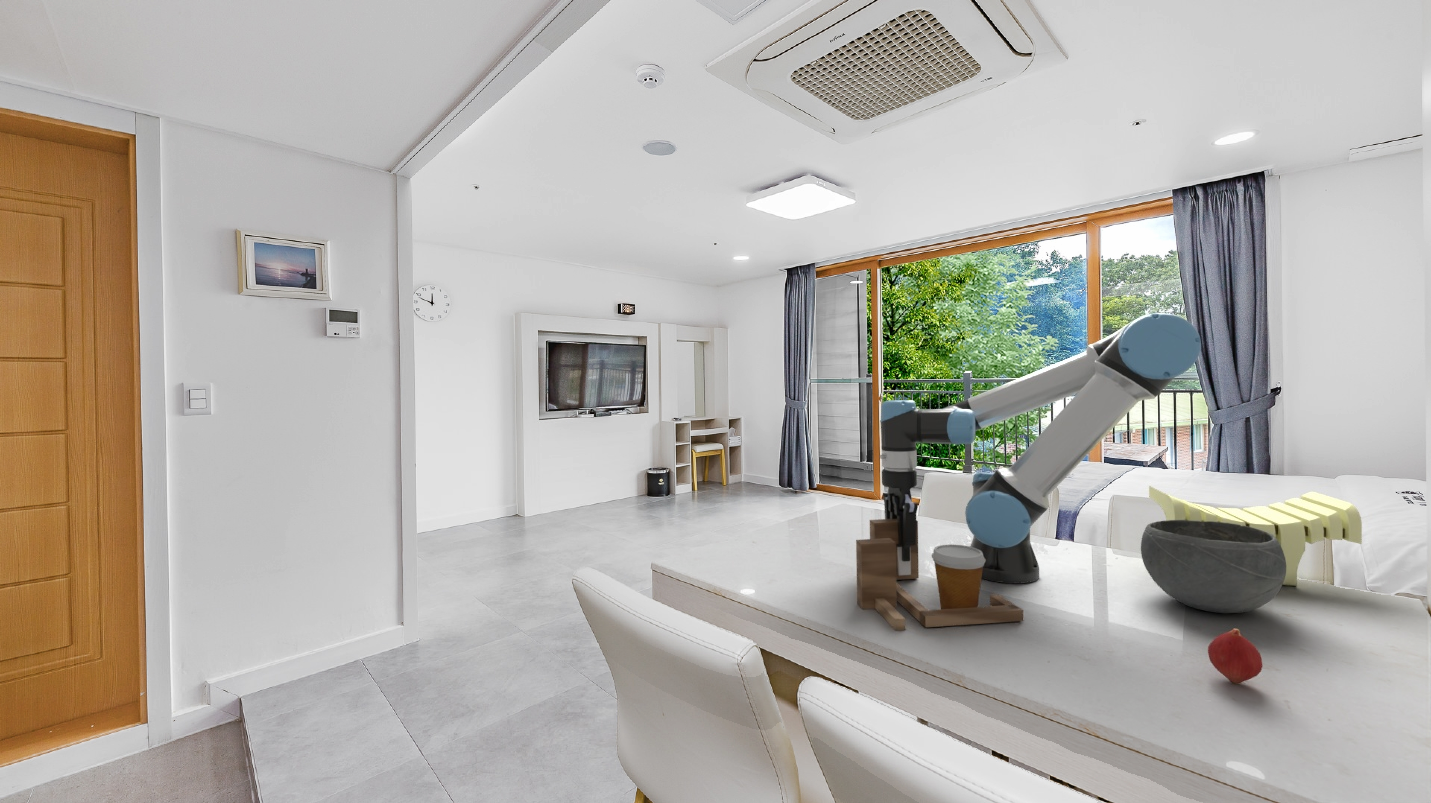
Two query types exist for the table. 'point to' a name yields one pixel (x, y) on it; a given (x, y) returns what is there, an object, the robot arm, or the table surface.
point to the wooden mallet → (878, 579)
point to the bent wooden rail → (944, 617)
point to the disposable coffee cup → (958, 575)
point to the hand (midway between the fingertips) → (900, 571)
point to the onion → (1235, 656)
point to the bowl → (1214, 564)
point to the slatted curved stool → (1279, 521)
